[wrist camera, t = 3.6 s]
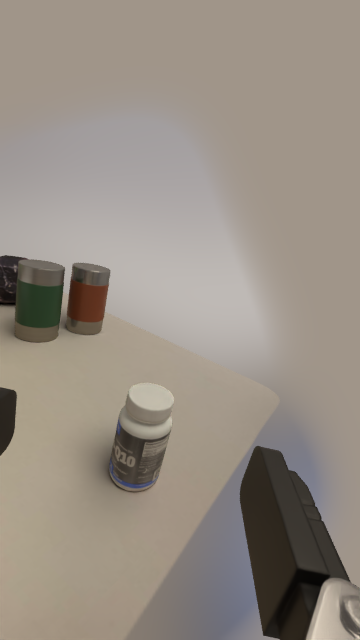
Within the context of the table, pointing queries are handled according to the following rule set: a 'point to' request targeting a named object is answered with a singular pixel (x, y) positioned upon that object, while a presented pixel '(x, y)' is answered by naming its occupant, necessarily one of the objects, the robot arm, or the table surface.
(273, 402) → the table surface
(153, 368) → the table surface
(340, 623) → the robot arm
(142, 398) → the pill bottle
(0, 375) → the table surface
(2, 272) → the mineral specimen
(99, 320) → the can rust
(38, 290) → the can green
